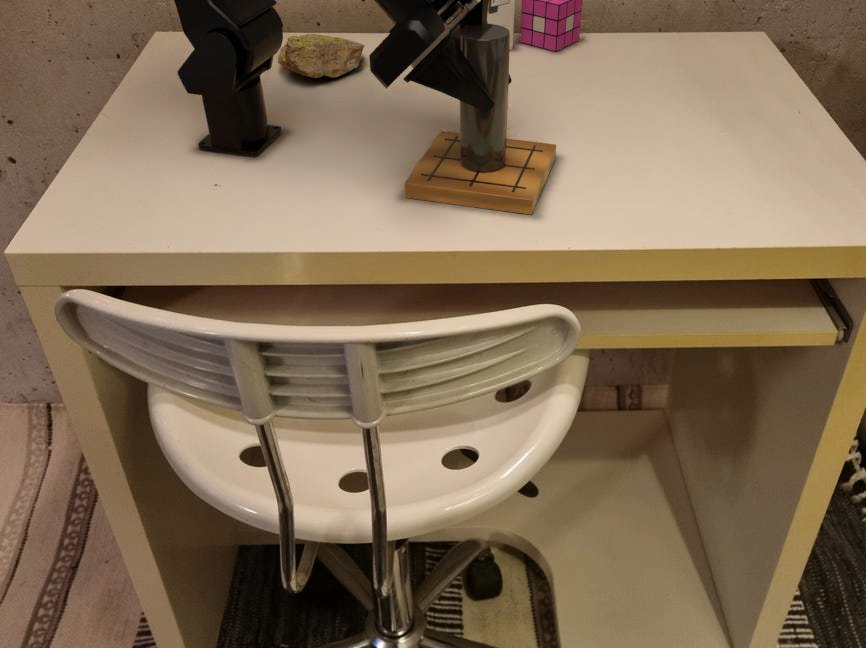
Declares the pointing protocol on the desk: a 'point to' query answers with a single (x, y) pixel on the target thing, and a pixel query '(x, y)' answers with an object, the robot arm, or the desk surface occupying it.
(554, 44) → the puzzle toy
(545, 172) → the game board
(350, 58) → the rock
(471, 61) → the black round pillar
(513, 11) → the ink box
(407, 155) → the desk surface
